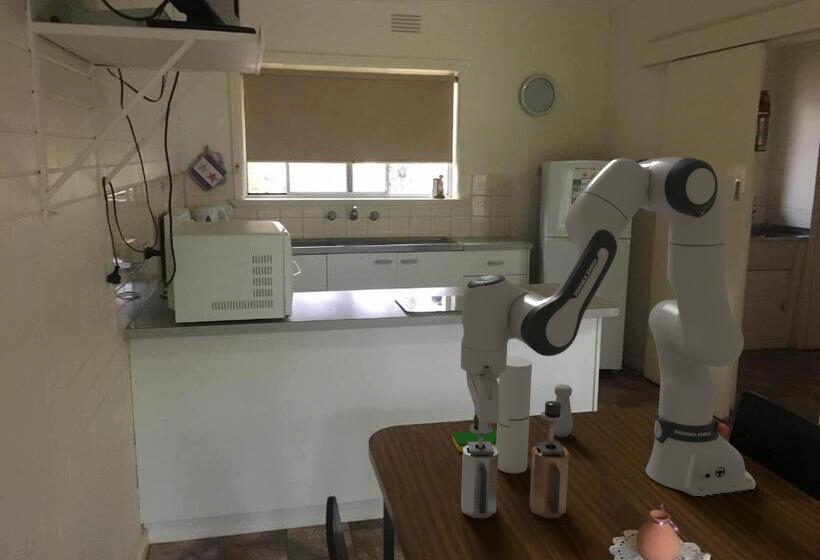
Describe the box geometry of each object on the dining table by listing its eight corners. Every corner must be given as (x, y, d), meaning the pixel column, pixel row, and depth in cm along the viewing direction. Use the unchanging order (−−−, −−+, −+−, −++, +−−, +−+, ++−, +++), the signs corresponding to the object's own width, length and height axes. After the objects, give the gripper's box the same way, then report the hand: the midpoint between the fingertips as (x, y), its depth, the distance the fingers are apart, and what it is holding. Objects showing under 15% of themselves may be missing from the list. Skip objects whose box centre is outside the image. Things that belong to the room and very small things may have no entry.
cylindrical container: (526, 474, 149) (531, 367, 144) (494, 471, 150) (498, 365, 145) (527, 460, 155) (532, 358, 151) (496, 457, 157) (500, 355, 152)
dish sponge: (452, 441, 167) (452, 432, 166) (505, 438, 169) (505, 429, 169) (458, 453, 160) (458, 444, 159) (513, 450, 162) (514, 441, 162)
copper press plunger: (558, 457, 135) (561, 399, 132) (563, 467, 130) (567, 407, 128) (536, 457, 134) (539, 399, 132) (541, 467, 130) (544, 407, 128)
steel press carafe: (492, 500, 137) (494, 439, 135) (499, 524, 128) (502, 459, 126) (460, 500, 137) (461, 439, 135) (464, 524, 128) (466, 459, 126)
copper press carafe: (559, 500, 138) (563, 439, 135) (571, 524, 129) (575, 459, 126) (527, 500, 137) (530, 439, 135) (536, 524, 128) (540, 459, 126)
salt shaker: (575, 432, 172) (578, 385, 169) (568, 440, 167) (571, 391, 165) (553, 427, 175) (556, 380, 172) (546, 435, 170) (548, 386, 168)
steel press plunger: (488, 470, 135) (491, 412, 132) (492, 480, 130) (494, 421, 128) (467, 470, 135) (469, 412, 132) (469, 480, 130) (471, 421, 128)
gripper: (509, 376, 118) (505, 449, 120) (492, 344, 138) (489, 407, 141) (473, 376, 118) (471, 449, 120) (462, 344, 138) (460, 407, 140)
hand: (481, 426), depth 131 cm, fingers closed on steel press plunger, 3 cm apart
